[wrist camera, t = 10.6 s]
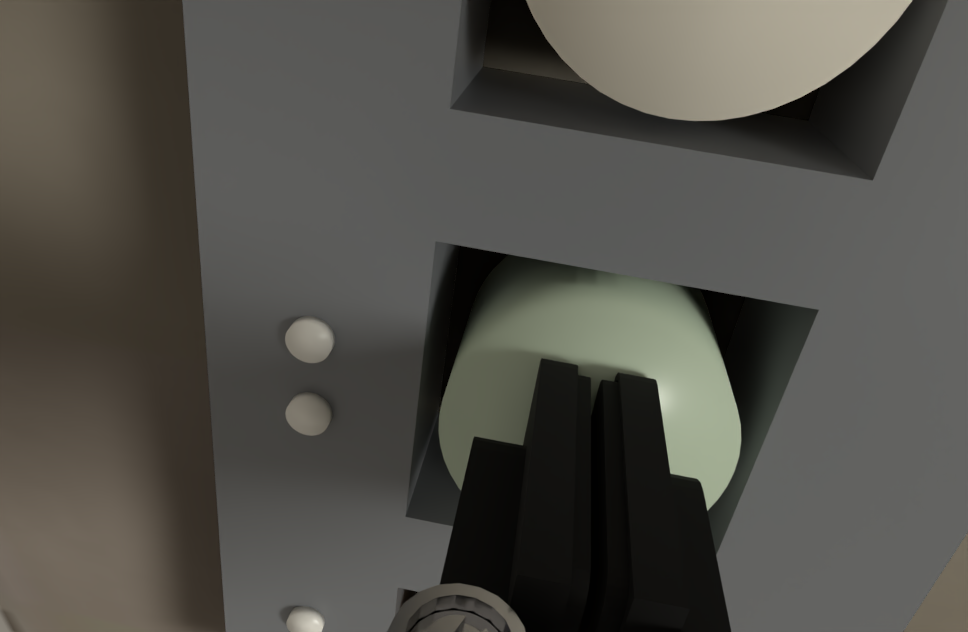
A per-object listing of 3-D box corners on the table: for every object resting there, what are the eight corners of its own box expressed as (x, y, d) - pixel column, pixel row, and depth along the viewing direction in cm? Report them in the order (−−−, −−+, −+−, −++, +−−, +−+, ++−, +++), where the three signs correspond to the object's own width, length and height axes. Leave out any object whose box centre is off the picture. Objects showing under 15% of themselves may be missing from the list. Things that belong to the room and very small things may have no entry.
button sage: (485, 208, 12) (455, 284, 10) (744, 253, 12) (786, 345, 9) (456, 413, 14) (425, 521, 12) (674, 454, 14) (693, 575, 12)
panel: (272, -558, 8) (114, -793, 6) (1335, -429, 8) (1745, -623, 5) (282, 638, 19) (229, 759, 16) (729, 732, 19) (753, 874, 16)
